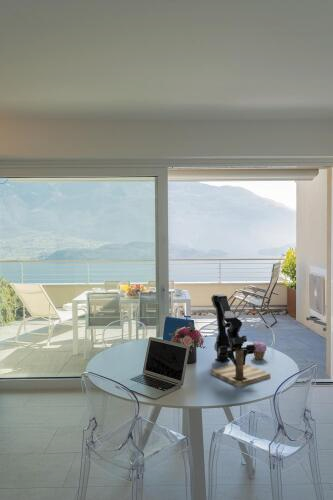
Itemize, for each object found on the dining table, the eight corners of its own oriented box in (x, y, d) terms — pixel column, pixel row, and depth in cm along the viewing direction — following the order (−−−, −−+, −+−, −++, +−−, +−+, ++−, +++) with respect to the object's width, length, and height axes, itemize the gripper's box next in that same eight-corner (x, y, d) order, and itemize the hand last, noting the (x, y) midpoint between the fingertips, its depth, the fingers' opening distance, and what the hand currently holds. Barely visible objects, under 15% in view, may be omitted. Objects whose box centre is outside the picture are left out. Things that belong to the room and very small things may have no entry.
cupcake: (249, 356, 246) (249, 339, 246) (263, 355, 247) (263, 339, 246) (254, 361, 237) (254, 344, 237) (268, 360, 238) (268, 343, 237)
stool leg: (234, 379, 206) (233, 350, 205) (237, 376, 209) (237, 348, 208) (241, 381, 204) (241, 351, 203) (244, 378, 207) (244, 349, 206)
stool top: (210, 373, 219) (210, 370, 219) (241, 365, 231) (240, 361, 231) (239, 387, 200) (239, 383, 200) (270, 377, 212) (270, 373, 212)
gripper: (219, 331, 208) (225, 359, 198) (254, 329, 210) (262, 357, 200) (215, 341, 216) (221, 369, 206) (249, 339, 218) (256, 366, 208)
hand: (240, 365), depth 205 cm, fingers closed on stool leg, 4 cm apart
